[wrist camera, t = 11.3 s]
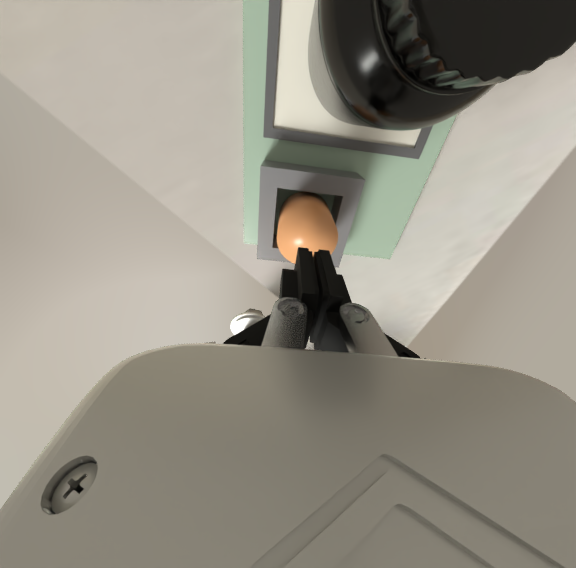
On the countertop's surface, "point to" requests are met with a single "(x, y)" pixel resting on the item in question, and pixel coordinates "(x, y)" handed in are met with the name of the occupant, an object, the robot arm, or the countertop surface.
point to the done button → (305, 225)
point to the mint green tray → (319, 145)
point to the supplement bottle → (427, 54)
